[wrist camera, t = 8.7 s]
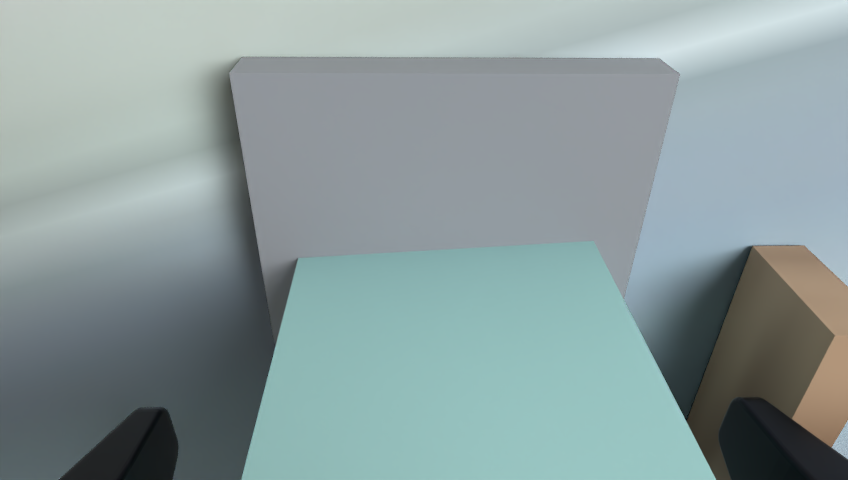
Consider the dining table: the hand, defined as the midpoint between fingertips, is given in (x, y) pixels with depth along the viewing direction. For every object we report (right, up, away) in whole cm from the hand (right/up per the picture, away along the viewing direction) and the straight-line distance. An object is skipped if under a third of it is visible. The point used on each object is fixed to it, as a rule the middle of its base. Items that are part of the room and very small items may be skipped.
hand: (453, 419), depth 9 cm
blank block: (0, -1, +3) cm, 3 cm away
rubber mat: (0, +1, +2) cm, 3 cm away
